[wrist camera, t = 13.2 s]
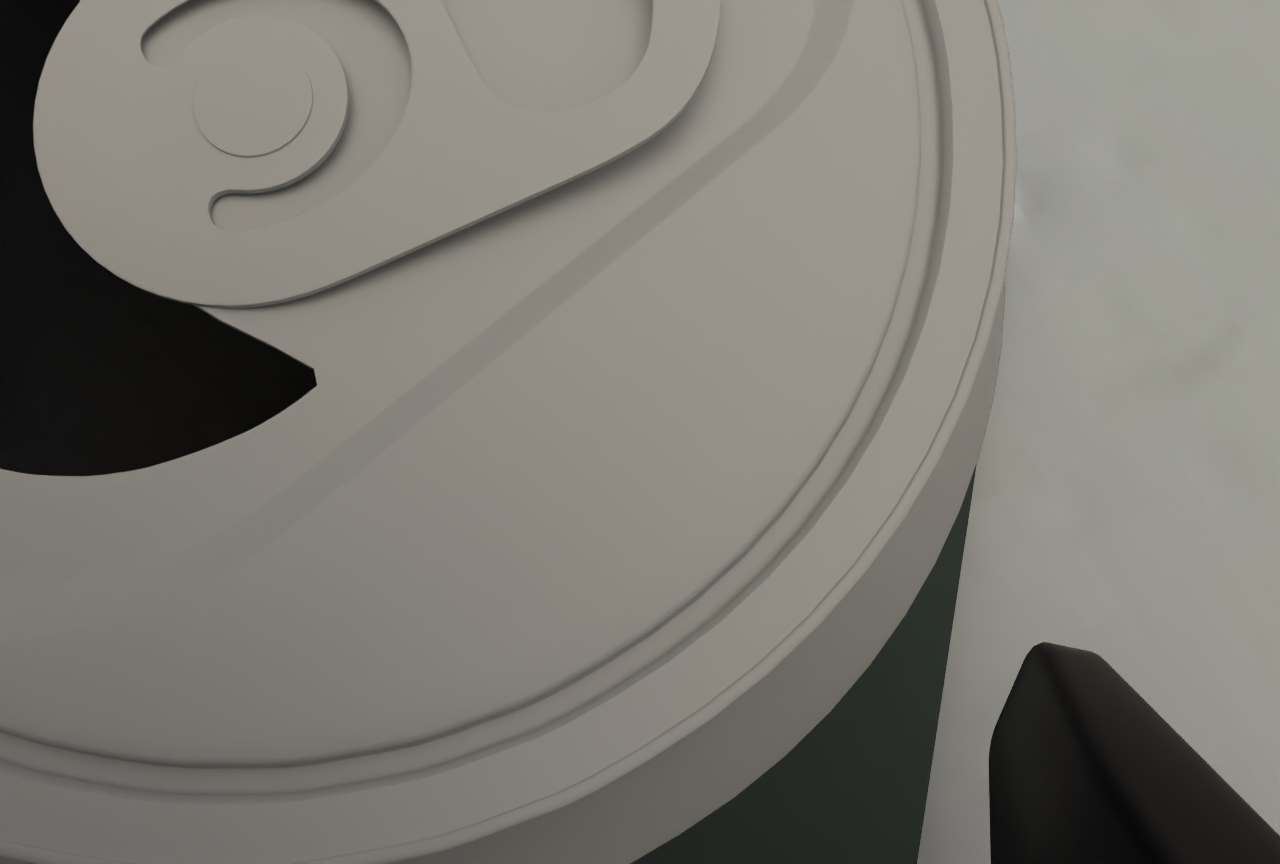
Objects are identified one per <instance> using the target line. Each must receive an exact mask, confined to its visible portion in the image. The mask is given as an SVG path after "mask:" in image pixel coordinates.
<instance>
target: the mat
mask: <svg viewBox="0 0 1280 864" xmlns="http://www.w3.org/2000/svg"><path fill="white" fill-rule="evenodd" d="M976 464H977V463H976ZM975 470H976V466H975V469H974V472H973V474H972V477H971V480H970V483H969V486H968V489H967V491H966V494H965V497H964V500H963V503H962V506H961V508H960V511H959V513H958V515H957V517H956V519H955V522H954V524H953V526H952V528H951V530H950V532H949V535H948V537H947V539H946V541H945V543H944V545H943V548H942V550H941V552H940V554H939V556H938V558H937V561H936V563H935V565H934V566H933V568H932V570H931V571H930V573H929V575H928V577H927V578H926V580H925V582H924V584H923V585H922V587H921V589H920V591H919V592H918V594H917V596H916V597H915V599H914V601H913V603H912V604H911V606H910V608H909V610H908V611H907V613H906V615H905V616H904V618H903V619H902V620H901V622H900V623H899V625H898V626H897V628H896V629H895V630H894V632H893V633H892V635H891V636H890V637H889V639H888V640H887V642H886V643H885V645H884V646H883V647H882V649H881V650H880V652H879V653H878V654H877V656H876V657H875V659H874V660H873V661H872V663H871V664H870V666H869V667H868V668H867V669H866V670H865V671H864V673H863V674H862V675H861V676H860V677H859V678H858V680H857V681H856V682H855V683H854V684H853V686H852V687H851V688H850V689H849V690H848V691H847V693H846V694H845V695H844V696H843V697H842V698H841V700H840V701H839V702H838V703H837V704H836V705H835V707H834V708H833V709H832V710H831V711H830V712H829V713H828V714H827V715H826V716H825V717H824V718H823V719H822V720H821V721H820V722H819V723H818V724H817V725H816V726H815V727H814V728H813V729H812V730H811V731H810V732H809V733H808V734H807V735H806V736H805V737H804V738H803V739H802V740H801V741H800V742H799V743H798V744H797V745H796V746H795V747H794V748H793V749H792V750H791V751H790V752H789V753H788V754H787V755H785V756H784V757H783V758H782V759H781V760H780V761H778V762H777V763H776V764H775V765H774V766H772V767H771V768H770V769H769V770H767V771H766V772H765V773H764V774H762V775H761V776H760V777H759V778H758V779H756V780H755V781H754V782H753V783H751V784H750V785H749V786H748V787H747V788H745V789H744V790H743V791H742V792H740V793H739V794H738V795H737V796H735V797H734V798H733V799H731V800H730V801H728V802H727V803H725V804H724V805H722V806H721V807H719V808H718V809H717V810H715V811H714V812H712V813H711V814H709V815H708V816H706V817H705V818H703V819H702V820H700V821H699V822H697V823H696V824H694V825H693V826H691V827H690V828H688V829H687V830H685V831H684V832H682V833H681V834H679V835H678V836H676V837H674V838H673V839H671V840H669V841H668V842H666V843H664V844H663V845H661V846H659V847H657V848H656V849H654V850H652V851H651V852H649V853H647V854H646V855H644V856H642V857H641V858H639V859H637V860H635V861H634V862H632V863H630V864H917V859H918V852H919V845H920V839H921V832H922V825H923V819H924V812H925V805H926V799H927V792H928V785H929V779H930V772H931V765H932V758H933V752H934V745H935V738H936V732H937V725H938V718H939V712H940V705H941V698H942V691H943V685H944V678H945V671H946V665H947V658H948V651H949V645H950V638H951V631H952V625H953V618H954V611H955V604H956V598H957V591H958V584H959V578H960V571H961V564H962V558H963V551H964V544H965V537H966V531H967V524H968V517H969V511H970V504H971V497H972V491H973V484H974V477H975Z"/></svg>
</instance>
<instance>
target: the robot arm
mask: <svg viewBox="0 0 1280 864" xmlns="http://www.w3.org/2000/svg"><path fill="white" fill-rule="evenodd" d="M989 796H990V844H991V864H1280V836H1279V835H1278V834H1277V833H1276V832H1275V831H1274V830H1273V829H1272V828H1271V827H1270V826H1269V825H1268V824H1267V823H1266V822H1265V821H1264V820H1263V819H1262V818H1261V817H1260V816H1259V815H1258V814H1257V813H1256V812H1255V811H1254V810H1253V809H1252V808H1251V807H1250V806H1249V805H1248V804H1247V803H1246V802H1245V801H1244V800H1243V799H1242V798H1241V797H1240V796H1239V795H1238V794H1237V793H1236V792H1235V791H1234V790H1233V789H1232V788H1231V787H1230V786H1229V785H1228V784H1227V783H1226V782H1225V781H1224V779H1223V778H1222V777H1221V776H1220V775H1219V774H1218V773H1217V772H1216V771H1215V770H1214V769H1213V768H1212V767H1211V766H1210V765H1209V764H1208V763H1207V762H1206V761H1205V760H1204V759H1203V758H1202V757H1201V756H1200V755H1199V754H1198V753H1197V752H1196V751H1195V750H1194V749H1193V748H1192V747H1191V746H1190V745H1189V744H1188V743H1187V742H1186V741H1185V740H1184V739H1183V738H1182V737H1181V736H1180V735H1179V734H1178V733H1177V732H1176V731H1175V730H1174V729H1173V728H1172V727H1171V726H1170V725H1169V724H1168V723H1167V722H1166V721H1165V720H1164V719H1163V718H1162V717H1161V716H1160V715H1159V714H1158V713H1157V712H1156V711H1155V710H1154V709H1153V708H1152V707H1151V706H1150V705H1149V704H1148V703H1147V702H1146V701H1145V700H1144V699H1143V698H1142V697H1141V696H1140V695H1139V694H1138V693H1137V692H1136V691H1135V690H1134V689H1133V688H1132V687H1131V686H1130V685H1129V684H1128V683H1127V682H1126V681H1125V680H1124V679H1123V678H1122V677H1121V676H1120V675H1119V674H1118V673H1117V672H1116V671H1115V670H1114V669H1113V668H1112V667H1111V666H1110V665H1109V664H1108V663H1107V662H1106V661H1105V660H1104V659H1102V658H1101V657H1100V656H1099V655H1097V654H1095V653H1093V652H1090V651H1086V650H1081V649H1076V648H1071V647H1066V646H1061V645H1057V644H1052V643H1047V642H1043V643H1040V644H1038V645H1036V646H1034V647H1033V648H1032V649H1031V650H1030V652H1029V653H1028V654H1027V656H1026V658H1025V660H1024V662H1023V664H1022V666H1021V669H1020V671H1019V673H1018V675H1017V678H1016V680H1015V682H1014V685H1013V687H1012V689H1011V691H1010V694H1009V696H1008V698H1007V701H1006V703H1005V705H1004V708H1003V710H1002V712H1001V714H1000V717H999V719H998V721H997V724H996V726H995V729H994V732H993V736H992V739H991V745H990V752H989Z"/></svg>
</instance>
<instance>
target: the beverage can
mask: <svg viewBox="0 0 1280 864" xmlns="http://www.w3.org/2000/svg"><path fill="white" fill-rule="evenodd" d="M1016 170H1017V149H1016V120H1015V100H1014V91H1013V82H1012V72H1011V63H1010V54H1009V49H1008V44H1007V39H1006V34H1005V29H1004V24H1003V19H1002V15H1001V12H1000V8H999V4H998V1H997V0H0V864H630V863H632V862H634V861H635V860H637V859H639V858H641V857H642V856H644V855H646V854H647V853H649V852H651V851H652V850H654V849H656V848H657V847H659V846H661V845H663V844H664V843H666V842H668V841H669V840H671V839H673V838H674V837H676V836H678V835H679V834H681V833H682V832H684V831H685V830H687V829H688V828H690V827H691V826H693V825H694V824H696V823H697V822H699V821H700V820H702V819H703V818H705V817H706V816H708V815H709V814H711V813H712V812H714V811H715V810H717V809H718V808H719V807H721V806H722V805H724V804H725V803H727V802H728V801H730V800H731V799H733V798H734V797H735V796H737V795H738V794H739V793H740V792H742V791H743V790H744V789H745V788H747V787H748V786H749V785H750V784H751V783H753V782H754V781H755V780H756V779H758V778H759V777H760V776H761V775H762V774H764V773H765V772H766V771H767V770H769V769H770V768H771V767H772V766H774V765H775V764H776V763H777V762H778V761H780V760H781V759H782V758H783V757H784V756H785V755H787V754H788V753H789V752H790V751H791V750H792V749H793V748H794V747H795V746H796V745H797V744H798V743H799V742H800V741H801V740H802V739H803V738H804V737H805V736H806V735H807V734H808V733H809V732H810V731H811V730H812V729H813V728H814V727H815V726H816V725H817V724H818V723H819V722H820V721H821V720H822V719H823V718H824V717H825V716H826V715H827V714H828V713H829V712H830V711H831V710H832V709H833V708H834V707H835V705H836V704H837V703H838V702H839V701H840V700H841V698H842V697H843V696H844V695H845V694H846V693H847V691H848V690H849V689H850V688H851V687H852V686H853V684H854V683H855V682H856V681H857V680H858V678H859V677H860V676H861V675H862V674H863V673H864V671H865V670H866V669H867V668H868V667H869V666H870V664H871V663H872V661H873V660H874V659H875V657H876V656H877V654H878V653H879V652H880V650H881V649H882V647H883V646H884V645H885V643H886V642H887V640H888V639H889V637H890V636H891V635H892V633H893V632H894V630H895V629H896V628H897V626H898V625H899V623H900V622H901V620H902V619H903V618H904V616H905V615H906V613H907V611H908V610H909V608H910V606H911V604H912V603H913V601H914V599H915V597H916V596H917V594H918V592H919V591H920V589H921V587H922V585H923V584H924V582H925V580H926V578H927V577H928V575H929V573H930V571H931V570H932V568H933V566H934V565H935V563H936V561H937V558H938V556H939V554H940V552H941V550H942V548H943V545H944V543H945V541H946V539H947V537H948V535H949V532H950V530H951V528H952V526H953V524H954V522H955V519H956V517H957V515H958V513H959V511H960V508H961V506H962V503H963V500H964V497H965V494H966V491H967V489H968V486H969V483H970V480H971V477H972V474H973V472H974V469H975V466H976V463H977V460H978V457H979V454H980V451H981V447H982V443H983V439H984V435H985V431H986V427H987V423H988V419H989V415H990V411H991V407H992V403H993V398H994V392H995V386H996V379H997V373H998V366H999V360H1000V353H1001V347H1002V334H1003V318H1004V302H1005V272H1006V265H1007V259H1008V253H1009V246H1010V240H1011V234H1012V227H1013V219H1014V203H1015V186H1016Z"/></svg>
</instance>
